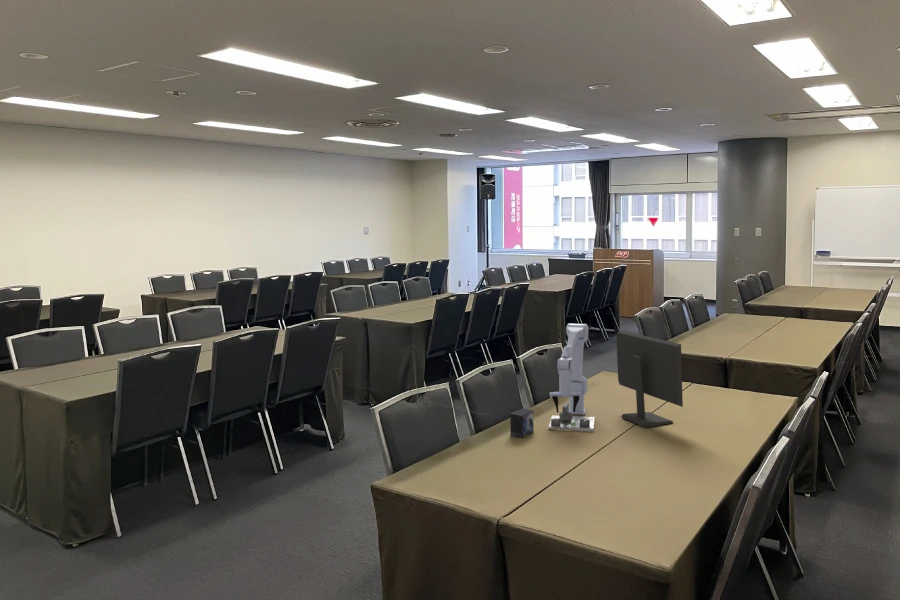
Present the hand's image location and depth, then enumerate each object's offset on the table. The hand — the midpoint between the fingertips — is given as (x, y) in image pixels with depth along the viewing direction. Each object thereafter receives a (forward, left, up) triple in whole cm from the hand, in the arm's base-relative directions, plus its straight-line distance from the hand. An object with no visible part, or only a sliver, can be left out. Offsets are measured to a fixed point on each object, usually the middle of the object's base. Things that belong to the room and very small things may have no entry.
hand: (565, 411), depth 315 cm
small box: (+19, -18, -6) cm, 27 cm away
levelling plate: (+2, +3, -6) cm, 7 cm away
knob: (-2, 0, -4) cm, 4 cm away
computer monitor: (-9, +37, -6) cm, 39 cm away
